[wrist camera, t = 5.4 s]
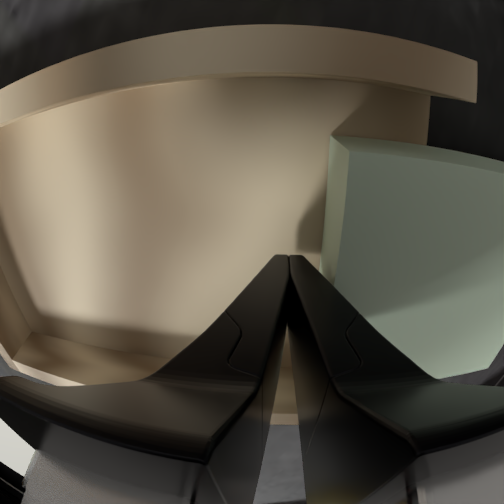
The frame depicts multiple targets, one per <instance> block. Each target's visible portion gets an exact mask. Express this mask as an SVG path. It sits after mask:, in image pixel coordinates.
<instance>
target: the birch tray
mask: <svg viewBox="0 0 504 504" xmlns="http://www.w3.org/2000/svg"><path fill="white" fill-rule="evenodd" d="M430 96H438V97H445V98H451V99H457V100H463V101H468V102H473V103H476V100H477V61H474V60H472V59H469V58H466V57H463V56H460V55H458V54H455V53H452V52H449V51H445V50H442V49H439V48H435V47H432V46H428V45H425V44H421V43H417V42H413V41H409V40H405V39H401V38H396V37H391V36H386V35H381V34H376V33H370V32H364V31H357V30H350V29H342V28H333V27H322V26H309V25H285V24H257V25H233V26H220V27H209V28H200V29H192V30H184V31H178V32H171V33H166V34H160V35H155V36H150V37H145V38H140V39H136V40H132V41H127V42H123V43H119V44H116V45H112V46H108V47H105V48H101V49H98V50H95V51H91V52H88V53H85V54H82V55H79V56H76V57H73V58H71V59H68V60H65V61H62V62H60V63H57V64H55V65H52V66H50V67H47V68H45V69H42V70H40V71H38V72H35V73H33V74H31V75H29V76H26V77H24V78H22V79H20V80H18V81H16V82H14V83H12V84H10V85H8V86H6V87H4V88H2V89H0V354H1V355H2V357H3V358H4V360H5V361H6V362H7V364H8V365H9V367H10V368H12V369H15V370H17V371H19V372H22V373H24V374H27V375H29V376H32V377H35V378H37V379H40V380H43V381H45V382H48V383H51V384H54V385H57V386H82V385H96V384H108V383H119V382H129V381H136V380H140V379H143V378H145V377H147V376H149V375H151V374H153V373H154V372H156V371H157V370H158V369H160V368H161V367H162V366H163V365H165V364H166V363H167V362H168V361H170V360H171V359H172V358H173V357H175V356H176V355H177V354H178V353H179V352H181V351H182V350H183V349H184V348H186V347H187V346H188V345H189V344H190V343H192V342H193V341H194V340H195V339H196V338H197V337H198V336H200V335H201V334H202V333H203V332H204V331H205V330H206V329H207V328H208V327H209V326H210V325H211V324H212V323H213V322H214V321H215V320H216V319H217V318H218V317H219V316H220V315H221V314H222V312H224V311H225V309H226V308H227V307H228V306H229V305H230V304H231V303H232V302H233V301H234V299H235V298H236V297H237V296H238V295H239V294H240V293H241V292H242V291H243V289H244V288H245V287H246V286H247V285H248V284H249V283H250V282H251V281H252V279H253V278H254V277H255V276H256V275H257V274H258V273H259V272H260V270H261V269H262V268H263V267H264V266H265V265H266V264H267V263H268V261H269V260H270V259H271V258H272V257H273V256H274V255H275V254H286V255H288V256H289V255H303V256H304V257H305V258H306V259H307V260H308V261H309V262H310V263H311V264H312V265H313V266H314V267H315V268H316V269H317V270H318V271H319V267H320V258H321V249H322V239H323V229H324V218H325V206H326V193H327V179H328V163H329V144H330V135H336V136H350V137H361V138H371V139H381V140H389V141H397V142H405V143H412V144H419V145H425V146H426V145H427V136H428V125H429V113H430ZM270 424H274V425H299V422H298V413H297V404H296V396H295V387H294V379H293V370H292V362H291V354H290V346H289V338H288V330H286V337H285V344H284V350H283V356H282V362H281V367H280V373H279V379H278V384H277V390H276V395H275V401H274V406H273V411H272V416H271V421H270Z"/></svg>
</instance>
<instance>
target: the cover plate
mask: <svg viewBox="0 0 504 504" xmlns="http://www.w3.org/2000/svg"><path fill="white" fill-rule="evenodd" d="M319 272H320V273H321V274H322V275H323V276H324V277H325V278H326V279H327V280H328V281H329V282H330V283H331V284H332V285H333V286H334V287H335V288H336V289H337V290H338V291H339V292H340V293H341V294H342V295H343V296H344V297H345V298H346V299H347V300H348V301H349V302H350V303H351V304H352V305H353V307H354V308H355V309H356V310H357V311H358V312H359V314H361V315H362V316H363V317H364V318H365V319H366V320H367V321H368V322H369V323H370V324H371V325H372V326H373V327H374V328H375V329H376V330H377V331H378V332H379V333H380V334H382V335H383V336H384V337H385V338H386V339H387V340H388V341H389V342H391V343H392V344H393V345H394V346H395V347H396V348H398V349H399V350H400V351H401V352H402V353H404V354H405V355H406V356H407V357H408V358H410V359H411V360H412V361H413V362H414V363H415V364H417V365H418V366H419V367H420V368H421V369H423V370H424V371H425V372H426V373H428V374H429V375H431V376H432V377H434V378H436V379H440V378H445V377H450V376H455V375H460V374H465V373H470V372H474V371H478V370H482V369H487V368H488V367H489V366H490V364H491V363H492V361H493V360H494V358H495V357H496V355H497V354H498V352H499V351H500V349H501V347H502V346H503V344H504V162H502V161H499V160H495V159H490V158H486V157H482V156H478V155H473V154H468V153H464V152H459V151H454V150H448V149H443V148H437V147H431V146H425V145H419V144H412V143H405V142H397V141H389V140H381V139H371V138H361V137H350V136H336V135H330V144H329V163H328V179H327V193H326V206H325V218H324V229H323V239H322V249H321V258H320V267H319Z"/></svg>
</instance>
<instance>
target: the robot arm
mask: <svg viewBox="0 0 504 504" xmlns="http://www.w3.org/2000/svg"><path fill="white" fill-rule="evenodd" d="M286 330H288V338H289V346H290V354H291V362H292V370H293V379H294V387H295V396H296V404H297V413H298V422H299V432H300V441H301V451H302V461H303V471H304V482H305V492H306V504H504V387H499V386H482V385H469V384H458V383H448V382H444V381H440V380H438V379H436V378H434V377H432V376H431V375H429V374H428V373H426V372H425V371H424V370H423V369H421V368H420V367H419V366H418V365H417V364H415V363H414V362H413V361H412V360H411V359H410V358H408V357H407V356H406V355H405V354H404V353H402V352H401V351H400V350H399V349H398V348H396V347H395V346H394V345H393V344H392V343H391V342H389V341H388V340H387V339H386V338H385V337H384V336H383V335H382V334H380V333H379V332H378V331H377V330H376V329H375V328H374V327H373V326H372V325H371V324H370V323H369V322H368V321H367V320H366V319H365V318H364V317H363V316H362V315H361V314H359V312H358V311H357V310H356V309H355V308H354V307H353V305H352V304H351V303H350V302H349V301H348V300H347V299H346V298H345V297H344V296H343V295H342V294H341V293H340V292H339V291H338V290H337V289H336V288H335V287H334V286H333V285H332V284H331V283H330V282H329V281H328V280H327V279H326V278H325V277H324V276H323V275H322V274H321V273H320V272H319V271H318V270H317V269H316V268H315V267H314V266H313V265H312V264H311V263H310V262H309V261H308V260H307V259H306V258H305V257H304V256H303V255H289V256H288V255H286V254H275V255H274V256H273V257H272V258H271V259H270V260H269V261H268V263H267V264H266V265H265V266H264V267H263V268H262V269H261V270H260V272H259V273H258V274H257V275H256V276H255V277H254V278H253V279H252V281H251V282H250V283H249V284H248V285H247V286H246V287H245V288H244V289H243V291H242V292H241V293H240V294H239V295H238V296H237V297H236V298H235V299H234V301H233V302H232V303H231V304H230V305H229V306H228V307H227V308H226V309H225V311H224V312H222V314H221V315H220V316H219V317H218V318H217V319H216V320H215V321H214V322H213V323H212V324H211V325H210V326H209V327H208V328H207V329H206V330H205V331H204V332H203V333H202V334H201V335H200V336H198V337H197V338H196V339H195V340H194V341H193V342H192V343H190V344H189V345H188V346H187V347H186V348H184V349H183V350H182V351H181V352H179V353H178V354H177V355H176V356H175V357H173V358H172V359H171V360H170V361H168V362H167V363H166V364H165V365H163V366H162V367H161V368H160V369H158V370H157V371H156V372H154V373H153V374H151V375H149V376H147V377H145V378H143V379H140V380H136V381H129V382H119V383H108V384H96V385H82V386H49V385H43V384H39V383H35V382H32V381H30V380H27V379H25V378H22V377H18V376H6V377H0V418H1V419H2V420H3V421H4V422H5V423H6V424H7V425H8V426H9V427H10V428H11V429H12V430H14V431H15V432H16V433H17V434H18V435H19V436H20V437H21V438H22V439H23V440H25V441H26V442H27V443H28V444H29V445H30V446H32V447H33V448H34V449H35V452H34V455H33V457H32V459H31V462H30V464H29V466H28V469H27V471H26V474H25V476H24V477H23V476H22V475H20V474H19V473H17V472H15V471H14V470H12V469H11V468H9V467H8V466H6V465H4V464H3V463H2V462H0V504H253V500H254V496H255V492H256V487H257V483H258V479H259V474H260V470H261V465H262V460H263V456H264V451H265V446H266V441H267V436H268V431H269V426H270V421H271V416H272V411H273V406H274V401H275V395H276V390H277V384H278V379H279V373H280V367H281V362H282V356H283V350H284V344H285V337H286Z"/></svg>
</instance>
